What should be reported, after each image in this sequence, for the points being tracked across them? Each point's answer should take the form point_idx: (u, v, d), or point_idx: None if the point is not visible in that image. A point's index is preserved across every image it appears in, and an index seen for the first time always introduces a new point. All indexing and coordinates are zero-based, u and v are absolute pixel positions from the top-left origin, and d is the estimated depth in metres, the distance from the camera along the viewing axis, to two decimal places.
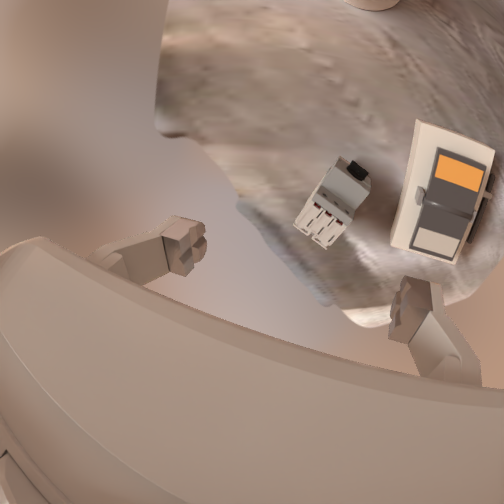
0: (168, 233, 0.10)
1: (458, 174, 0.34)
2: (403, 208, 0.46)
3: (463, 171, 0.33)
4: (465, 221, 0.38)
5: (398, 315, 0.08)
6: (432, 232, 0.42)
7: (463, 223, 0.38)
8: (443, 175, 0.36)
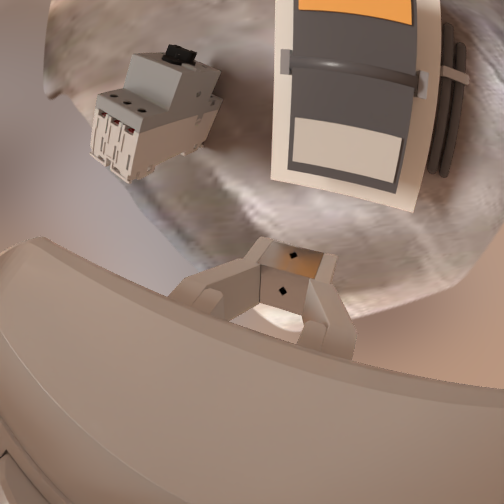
0: (267, 261, 0.09)
1: None
2: (275, 101, 0.24)
3: None
4: (404, 92, 0.16)
5: None
6: (328, 124, 0.20)
7: (400, 97, 0.16)
8: (316, 3, 0.14)
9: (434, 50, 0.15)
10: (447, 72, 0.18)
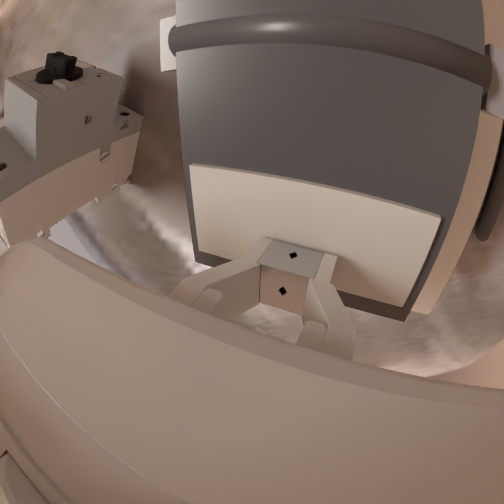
0: (267, 261, 0.09)
1: None
2: None
3: None
4: (458, 96, 0.05)
5: None
6: (260, 180, 0.09)
7: (449, 109, 0.05)
8: None
9: (495, 15, 0.04)
10: None
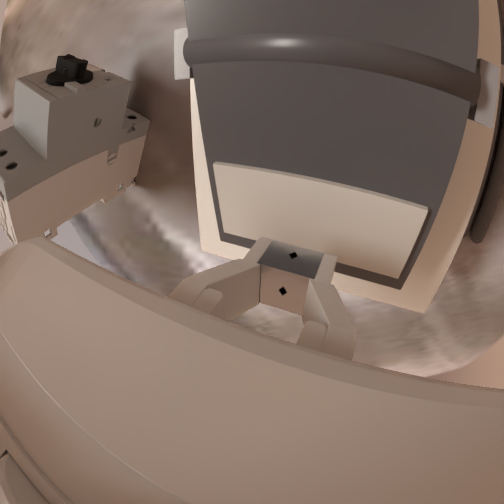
0: (267, 261, 0.09)
1: None
2: (194, 126, 0.14)
3: None
4: (447, 110, 0.06)
5: None
6: (275, 177, 0.11)
7: (437, 121, 0.06)
8: None
9: (489, 27, 0.05)
10: None
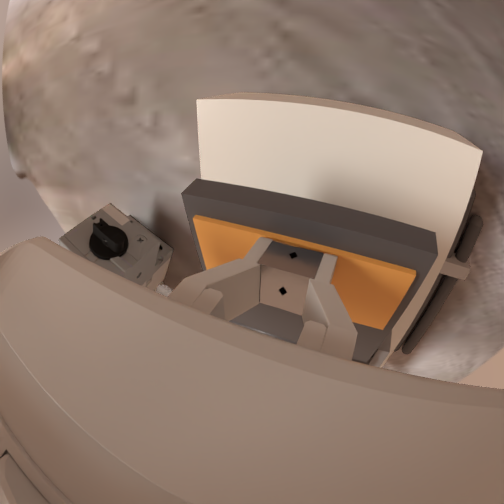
0: (267, 260, 0.09)
1: None
2: None
3: None
4: None
5: None
6: None
7: None
8: None
9: (424, 283, 0.15)
10: None
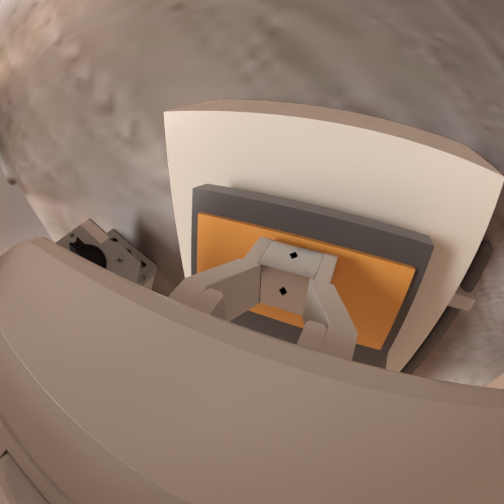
0: (267, 260, 0.09)
1: None
2: None
3: None
4: None
5: None
6: None
7: None
8: None
9: (424, 323, 0.12)
10: None
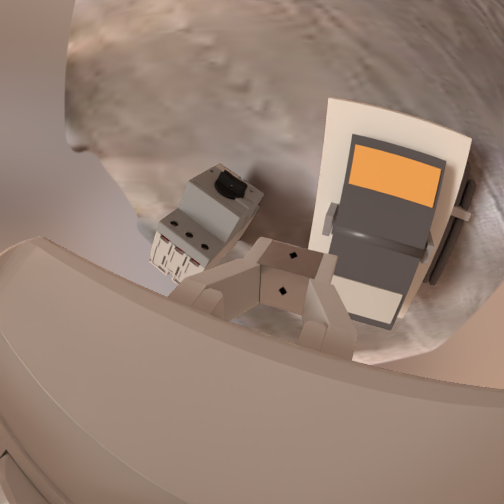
0: (267, 260, 0.09)
1: (392, 176, 0.23)
2: (311, 237, 0.34)
3: (403, 172, 0.23)
4: (412, 262, 0.25)
5: None
6: (351, 282, 0.29)
7: (408, 265, 0.25)
8: (364, 180, 0.24)
9: (446, 211, 0.24)
10: (453, 212, 0.28)
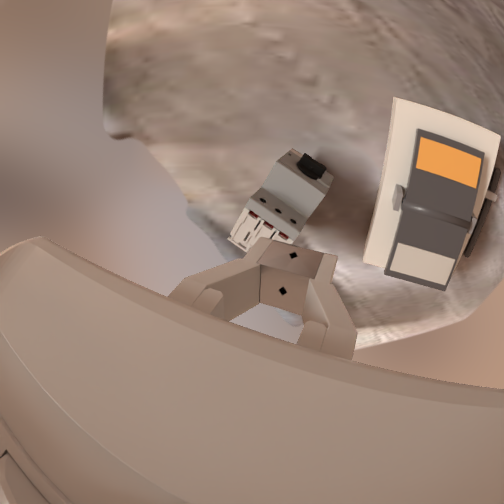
0: (267, 260, 0.09)
1: (448, 163, 0.26)
2: (377, 214, 0.37)
3: (454, 160, 0.25)
4: (462, 231, 0.28)
5: None
6: (416, 249, 0.31)
7: (459, 235, 0.28)
8: (427, 165, 0.27)
9: (482, 192, 0.27)
10: None
